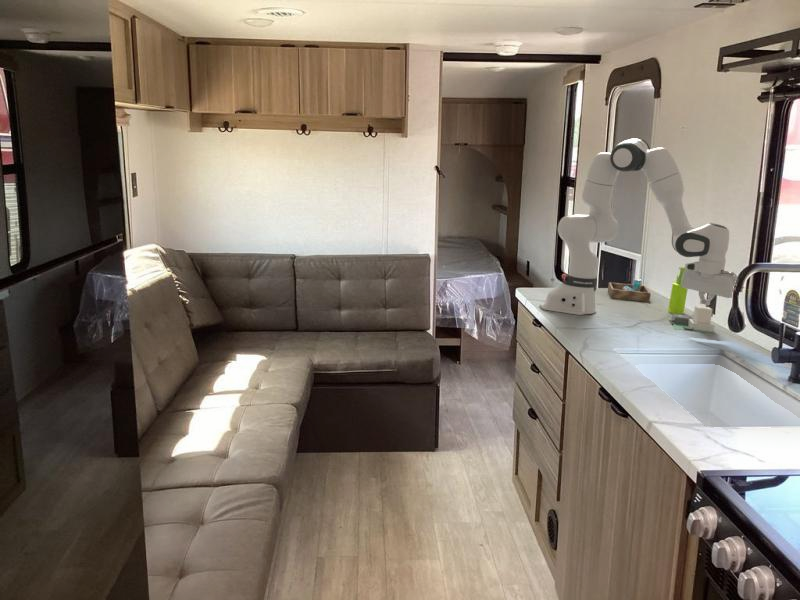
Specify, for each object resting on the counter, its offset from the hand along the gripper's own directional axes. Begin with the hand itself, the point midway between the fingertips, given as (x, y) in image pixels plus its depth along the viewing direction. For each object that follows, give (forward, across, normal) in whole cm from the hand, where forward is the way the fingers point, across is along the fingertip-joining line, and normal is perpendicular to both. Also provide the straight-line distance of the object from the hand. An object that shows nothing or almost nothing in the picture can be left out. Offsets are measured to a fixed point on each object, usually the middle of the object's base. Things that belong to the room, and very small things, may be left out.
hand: (704, 304), depth 240 cm
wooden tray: (+10, +53, -24) cm, 59 cm away
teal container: (+10, +53, -26) cm, 60 cm away
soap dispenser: (+11, +20, -14) cm, 27 cm away
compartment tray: (+10, +4, +1) cm, 11 cm away
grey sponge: (+9, +8, +1) cm, 13 cm away
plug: (+9, 0, 0) cm, 9 cm away
